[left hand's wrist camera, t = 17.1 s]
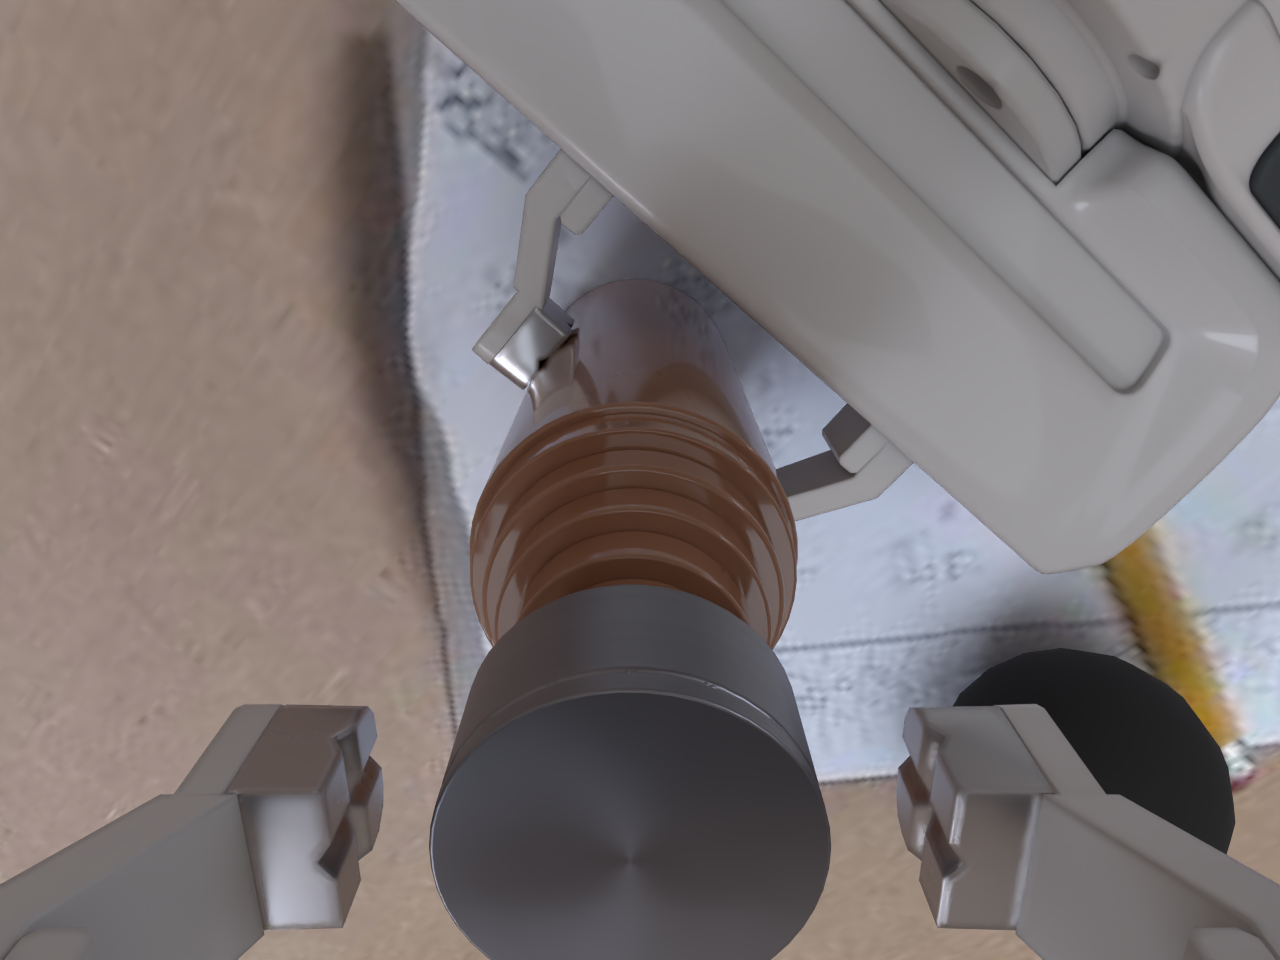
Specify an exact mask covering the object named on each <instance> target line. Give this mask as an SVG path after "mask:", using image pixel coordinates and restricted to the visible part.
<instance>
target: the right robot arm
mask: <svg viewBox="0 0 1280 960" xmlns="http://www.w3.org/2000/svg"><path fill="white" fill-rule="evenodd" d="M396 2H397V3H398V4H399V5H400V6H402V7H403V8H404V9H405V10H406V11H407V12H408V13H409V14H410V15H411V16H413V17H414V18H415V19H416V20H417V21H418V22H419V23H420V24H421V25H423V26H424V27H425V28H426V29H427V30H428V31H429V32H430V33H432V34H433V35H434V36H435V37H436V38H437V39H438V40H439V41H441V42H442V43H443V44H444V45H445V46H446V47H447V48H448V49H450V50H451V51H452V52H453V53H454V54H455V55H456V56H457V57H459V58H460V59H461V60H462V61H463V62H464V63H465V64H466V65H468V66H469V67H470V68H471V69H472V70H473V71H474V72H475V73H477V74H478V75H479V76H480V77H481V78H482V79H483V80H484V81H486V82H487V83H488V84H489V85H490V86H491V87H492V88H493V89H495V90H496V91H497V92H498V93H499V94H500V95H501V96H502V97H504V98H505V99H506V100H507V101H508V102H509V103H510V104H511V105H513V106H514V107H515V108H516V109H517V110H518V111H519V112H520V113H522V114H523V115H524V116H525V117H526V118H527V119H528V120H529V121H531V122H532V123H533V124H534V125H535V126H536V127H537V128H538V129H540V130H541V131H542V132H543V133H544V134H545V135H546V136H547V137H549V138H550V139H551V140H552V141H553V142H554V143H555V144H556V145H558V146H559V147H560V148H561V149H560V151H559V152H558V153H557V155H556V156H555V157H554V158H553V160H552V161H551V162H550V164H549V165H548V166H547V168H546V169H545V170H544V171H543V173H542V174H541V175H540V177H539V178H538V179H537V180H536V182H535V183H534V184H533V186H532V187H531V188H530V189H529V191H528V192H527V193H526V198H525V205H524V213H523V220H522V228H521V235H520V243H519V250H518V258H517V265H516V273H515V280H514V288H515V289H516V290H517V293H516V294H515V295H514V296H513V298H512V299H511V300H510V301H509V303H508V304H507V305H506V306H505V308H504V309H503V310H502V311H501V313H500V314H499V315H498V316H497V318H496V319H495V320H494V321H493V323H492V324H491V325H490V326H489V328H488V329H487V330H486V332H485V333H484V334H483V335H482V337H481V338H480V339H479V340H478V342H477V343H476V344H475V346H474V347H473V348H472V350H473V351H474V352H475V353H476V354H477V355H478V356H479V357H481V358H482V359H483V360H484V361H485V362H486V363H487V364H489V363H490V365H491V366H493V367H494V368H495V369H496V370H498V371H499V372H500V373H502V374H503V375H504V376H505V377H507V378H508V379H509V380H511V381H512V382H513V383H514V384H516V385H517V386H518V387H520V388H521V389H522V390H523V389H525V388H526V387H527V385H528V384H529V383H530V382H531V381H532V380H533V378H534V377H535V375H536V373H537V372H538V370H539V368H540V366H541V363H542V360H544V359H548V358H549V357H551V356H552V355H553V354H554V353H555V352H556V351H557V350H558V349H559V348H560V346H561V345H562V344H563V343H564V342H565V340H566V339H567V338H568V337H569V335H570V333H571V330H572V329H571V328H572V326H573V324H574V321H575V320H574V319H573V318H572V317H571V316H570V315H569V314H567V313H566V312H565V311H564V310H563V309H562V308H560V307H559V306H558V305H557V304H556V303H555V302H554V301H552V300H551V299H550V298H549V296H550V291H551V285H552V278H553V272H554V266H555V260H556V254H557V248H558V241H559V235H560V229H561V223H562V224H563V225H564V226H565V227H566V228H567V229H569V230H570V231H571V232H572V233H573V234H575V235H576V234H582V233H583V232H584V230H585V229H586V228H587V227H588V226H589V224H590V223H591V222H592V221H593V220H594V218H595V217H596V216H597V215H598V214H599V212H600V211H601V210H602V209H603V208H604V206H605V205H606V204H607V203H608V202H609V200H610V199H611V198H612V197H613V196H615V197H616V198H617V199H618V200H619V201H621V202H622V203H623V204H624V205H625V206H626V207H627V208H628V209H630V210H631V211H632V212H633V213H634V214H635V215H636V216H637V217H639V218H640V219H641V220H642V221H643V222H644V223H645V224H646V225H648V226H649V227H650V228H651V229H652V230H653V231H654V232H655V233H657V234H658V235H659V236H660V237H661V238H662V239H663V240H664V241H666V242H667V243H668V244H669V245H670V246H671V247H672V248H673V249H675V250H676V251H677V252H678V253H679V254H680V255H681V256H682V257H684V258H685V259H686V260H687V261H688V262H689V263H690V264H691V265H693V266H694V267H695V268H696V269H697V270H698V271H699V272H700V273H702V274H703V275H704V276H705V277H706V278H707V279H708V280H709V281H711V282H712V283H713V284H714V285H715V286H716V287H717V288H718V289H720V290H721V291H722V292H723V293H724V294H725V295H726V296H727V297H729V298H730V299H731V300H732V301H733V302H734V303H735V304H736V305H738V306H739V307H740V308H741V309H742V310H743V311H744V312H745V313H747V314H748V315H749V316H750V317H751V318H752V319H753V320H754V321H756V322H757V323H758V324H759V325H760V326H761V327H762V328H763V329H765V330H766V331H767V332H768V333H769V334H770V335H771V336H772V337H774V338H775V339H776V340H777V341H778V342H779V343H780V344H781V345H783V346H784V347H785V348H786V349H787V350H788V351H789V352H790V353H792V354H793V355H794V356H795V357H796V358H797V359H798V360H799V361H801V362H802V363H803V364H804V365H805V366H806V367H807V368H808V369H810V370H811V371H812V372H813V373H814V374H815V375H816V376H817V377H819V378H820V379H821V380H822V381H823V382H824V383H825V384H826V385H828V386H829V387H830V388H831V389H832V390H833V391H834V392H835V393H837V394H838V395H839V396H840V397H841V398H842V399H843V400H844V401H846V402H847V404H846V405H845V406H844V407H843V408H842V409H841V411H840V412H839V413H838V414H837V415H836V416H835V417H834V418H833V419H832V420H831V421H830V422H829V423H828V424H827V425H826V426H825V427H824V428H823V430H822V436H823V437H824V439H825V441H826V442H827V444H828V445H829V447H830V449H831V450H829V451H826V452H824V453H821V454H818V455H815V456H812V457H810V458H807V459H804V460H801V461H798V462H795V463H793V464H790V465H787V466H784V467H781V468H779V469H776V471H777V474H778V476H779V478H780V481H781V483H782V486H783V488H784V491H785V493H786V495H787V498H788V501H789V504H790V507H791V510H792V513H793V516H794V520H795V521H798V520H801V519H805V518H809V517H812V516H816V515H819V514H823V513H826V512H830V511H833V510H837V509H840V508H844V507H847V506H851V505H854V504H858V503H861V502H865V501H869V500H872V499H876V498H878V497H879V496H880V495H881V494H882V493H883V492H884V491H885V490H886V489H887V488H888V487H889V486H890V485H891V484H892V483H893V482H894V481H895V480H896V479H897V478H898V477H899V476H900V475H901V474H903V473H904V472H905V471H906V470H907V469H908V468H909V467H910V466H911V465H912V464H913V463H915V464H916V465H918V466H919V467H920V468H921V469H922V470H923V471H924V472H925V473H927V474H928V475H929V476H930V477H931V478H932V479H933V480H934V481H936V482H937V483H938V484H939V485H940V486H941V487H942V488H943V489H945V490H946V491H947V492H948V493H949V494H950V495H951V496H952V497H954V498H955V499H956V500H957V501H958V502H959V503H960V504H961V505H963V506H964V507H965V508H966V509H967V510H968V511H969V512H970V513H972V514H973V515H974V516H975V517H976V518H977V519H978V520H979V521H981V522H982V523H983V524H984V525H985V526H986V527H987V528H988V529H990V530H991V531H992V532H993V533H994V534H995V535H996V536H997V537H999V538H1000V539H1001V540H1002V541H1003V542H1004V543H1005V544H1006V545H1008V546H1009V547H1010V548H1011V549H1012V550H1013V551H1014V552H1015V553H1017V554H1018V555H1019V556H1020V557H1021V558H1022V559H1023V560H1025V561H1026V562H1027V563H1028V564H1029V565H1030V566H1031V567H1032V568H1034V569H1035V570H1036V571H1038V572H1040V573H1042V574H1054V573H1062V572H1068V571H1074V570H1079V569H1084V568H1089V567H1094V566H1097V565H1100V564H1102V563H1104V562H1106V561H1108V560H1109V559H1111V558H1113V557H1114V556H1116V555H1117V554H1118V553H1120V552H1121V551H1122V550H1124V549H1125V548H1126V547H1128V546H1129V545H1130V544H1131V543H1133V542H1134V541H1135V540H1136V539H1138V538H1139V537H1140V536H1141V535H1142V534H1143V533H1144V532H1146V531H1147V530H1148V529H1149V528H1150V527H1151V526H1153V525H1154V524H1155V523H1156V522H1157V521H1158V520H1159V519H1161V518H1162V517H1163V516H1164V515H1165V514H1166V513H1167V512H1168V511H1170V510H1171V509H1172V508H1173V507H1174V506H1175V505H1176V504H1177V503H1178V502H1179V501H1180V500H1182V499H1183V498H1184V497H1185V496H1186V495H1187V494H1188V493H1189V492H1190V491H1191V490H1192V489H1193V488H1195V487H1196V486H1197V485H1198V484H1199V483H1200V482H1201V481H1202V480H1203V479H1204V478H1205V477H1206V476H1207V475H1208V474H1209V473H1210V472H1211V471H1212V470H1213V469H1214V468H1215V467H1216V466H1217V465H1218V464H1219V463H1220V462H1221V461H1222V460H1223V459H1224V458H1225V457H1226V456H1227V455H1228V454H1229V453H1230V452H1231V451H1232V450H1233V449H1234V448H1235V447H1236V446H1237V445H1238V444H1239V443H1240V442H1241V441H1242V440H1243V439H1244V438H1245V437H1246V436H1247V435H1248V434H1249V433H1250V432H1251V430H1252V429H1253V428H1254V427H1255V426H1256V425H1257V424H1258V423H1259V422H1260V421H1261V420H1262V418H1263V417H1264V416H1265V415H1266V413H1267V412H1268V411H1269V410H1270V409H1271V407H1272V406H1273V405H1274V403H1275V402H1276V400H1277V399H1278V398H1279V396H1280V0H396Z"/></svg>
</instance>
